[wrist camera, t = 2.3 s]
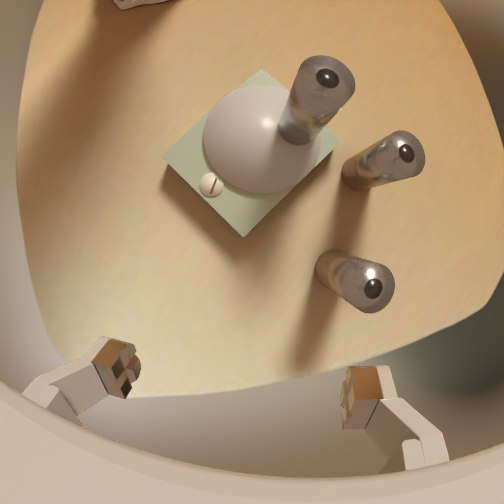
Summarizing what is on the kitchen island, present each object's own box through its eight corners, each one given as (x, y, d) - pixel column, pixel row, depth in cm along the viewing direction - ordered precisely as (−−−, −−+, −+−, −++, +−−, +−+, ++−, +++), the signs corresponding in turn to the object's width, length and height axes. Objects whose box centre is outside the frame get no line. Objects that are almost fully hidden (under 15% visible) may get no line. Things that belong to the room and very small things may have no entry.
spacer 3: (307, 268, 35) (340, 290, 23) (332, 243, 35) (375, 252, 23) (331, 292, 35) (370, 323, 23) (354, 268, 35) (403, 286, 23)
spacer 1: (270, 126, 30) (286, 74, 18) (296, 103, 30) (323, 46, 18) (298, 153, 30) (331, 114, 18) (324, 129, 30) (366, 84, 18)
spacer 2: (335, 171, 34) (377, 148, 22) (356, 150, 34) (403, 121, 22) (358, 197, 34) (409, 186, 22) (379, 175, 34) (432, 157, 22)
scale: (167, 162, 33) (160, 155, 30) (260, 79, 33) (262, 66, 29) (243, 236, 34) (243, 238, 31) (333, 147, 34) (343, 139, 30)
